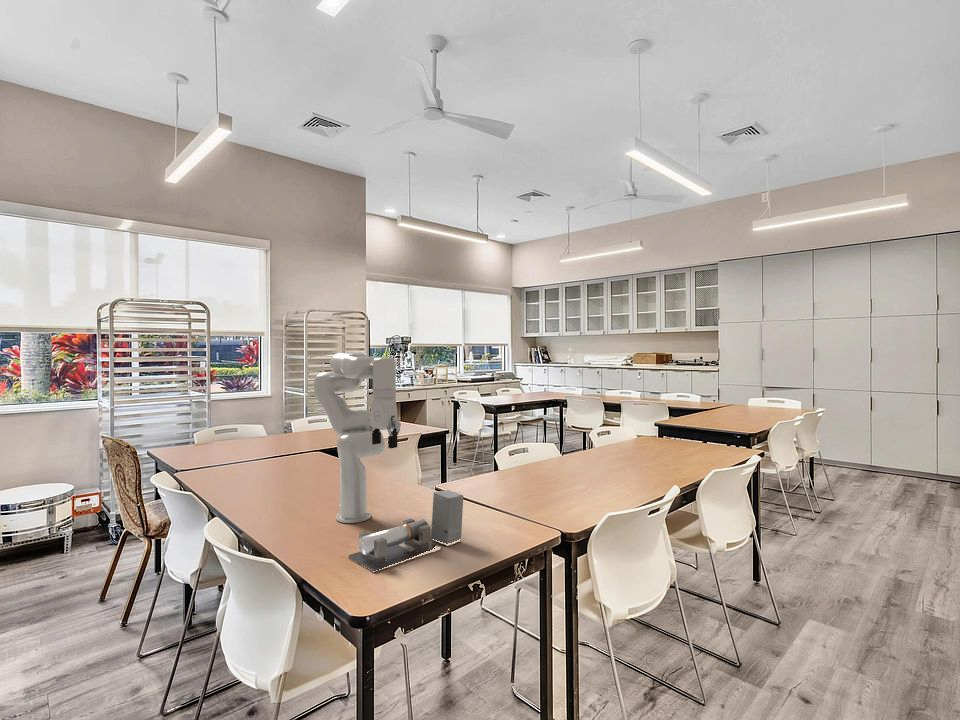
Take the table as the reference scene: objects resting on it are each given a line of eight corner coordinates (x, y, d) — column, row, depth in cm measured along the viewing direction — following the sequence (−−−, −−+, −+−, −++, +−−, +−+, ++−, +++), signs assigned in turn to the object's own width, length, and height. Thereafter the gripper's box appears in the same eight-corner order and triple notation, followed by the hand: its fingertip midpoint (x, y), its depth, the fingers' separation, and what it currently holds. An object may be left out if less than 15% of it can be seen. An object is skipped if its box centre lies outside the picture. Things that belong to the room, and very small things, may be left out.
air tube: (368, 556, 146) (368, 539, 146) (358, 552, 149) (358, 534, 149) (429, 537, 161) (428, 521, 161) (419, 533, 165) (419, 517, 164)
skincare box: (430, 540, 166) (430, 492, 166) (447, 535, 171) (446, 488, 171) (447, 548, 160) (447, 497, 160) (464, 542, 165) (464, 493, 165)
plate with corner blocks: (348, 558, 152) (348, 533, 152) (413, 537, 168) (413, 515, 168) (374, 573, 142) (373, 546, 142) (440, 549, 158) (440, 525, 158)
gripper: (360, 393, 173) (361, 443, 173) (389, 396, 160) (389, 451, 161) (379, 392, 178) (379, 441, 178) (408, 395, 166) (409, 447, 166)
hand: (384, 445), depth 170 cm, fingers open, 9 cm apart
